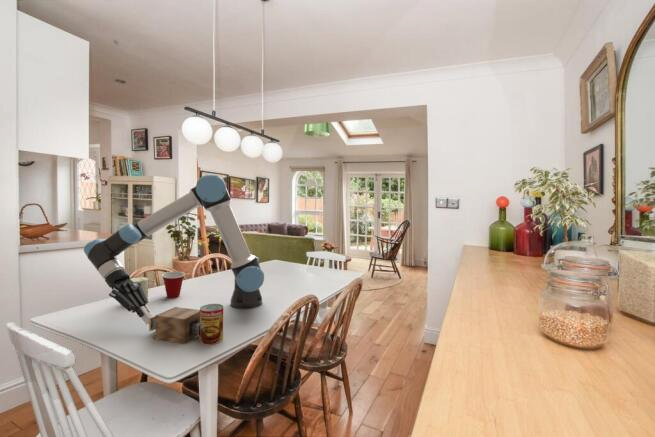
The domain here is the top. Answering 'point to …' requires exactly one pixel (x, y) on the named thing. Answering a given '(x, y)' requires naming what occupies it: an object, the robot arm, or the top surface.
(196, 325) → the shaft
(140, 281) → the can
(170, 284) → the plastic cup
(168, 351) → the top surface
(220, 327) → the canned food
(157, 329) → the bearing block
